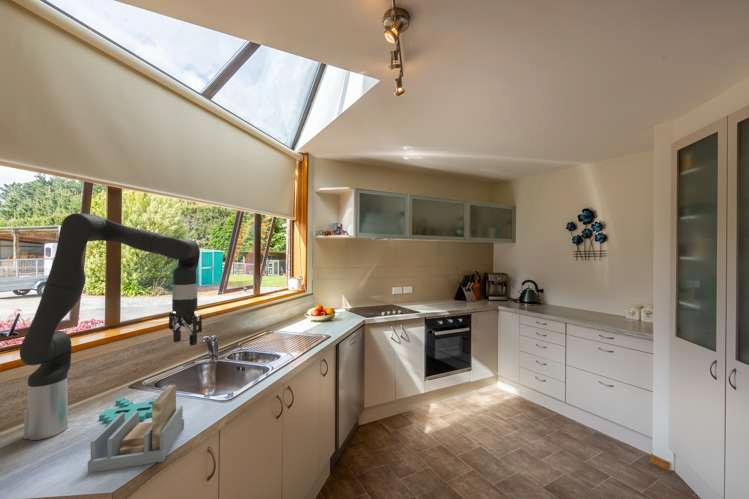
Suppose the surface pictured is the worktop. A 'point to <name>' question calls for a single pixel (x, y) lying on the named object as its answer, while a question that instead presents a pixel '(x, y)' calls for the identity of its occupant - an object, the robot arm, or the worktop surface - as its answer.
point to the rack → (118, 429)
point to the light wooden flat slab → (162, 413)
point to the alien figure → (127, 410)
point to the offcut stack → (135, 440)
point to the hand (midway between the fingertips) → (185, 343)
